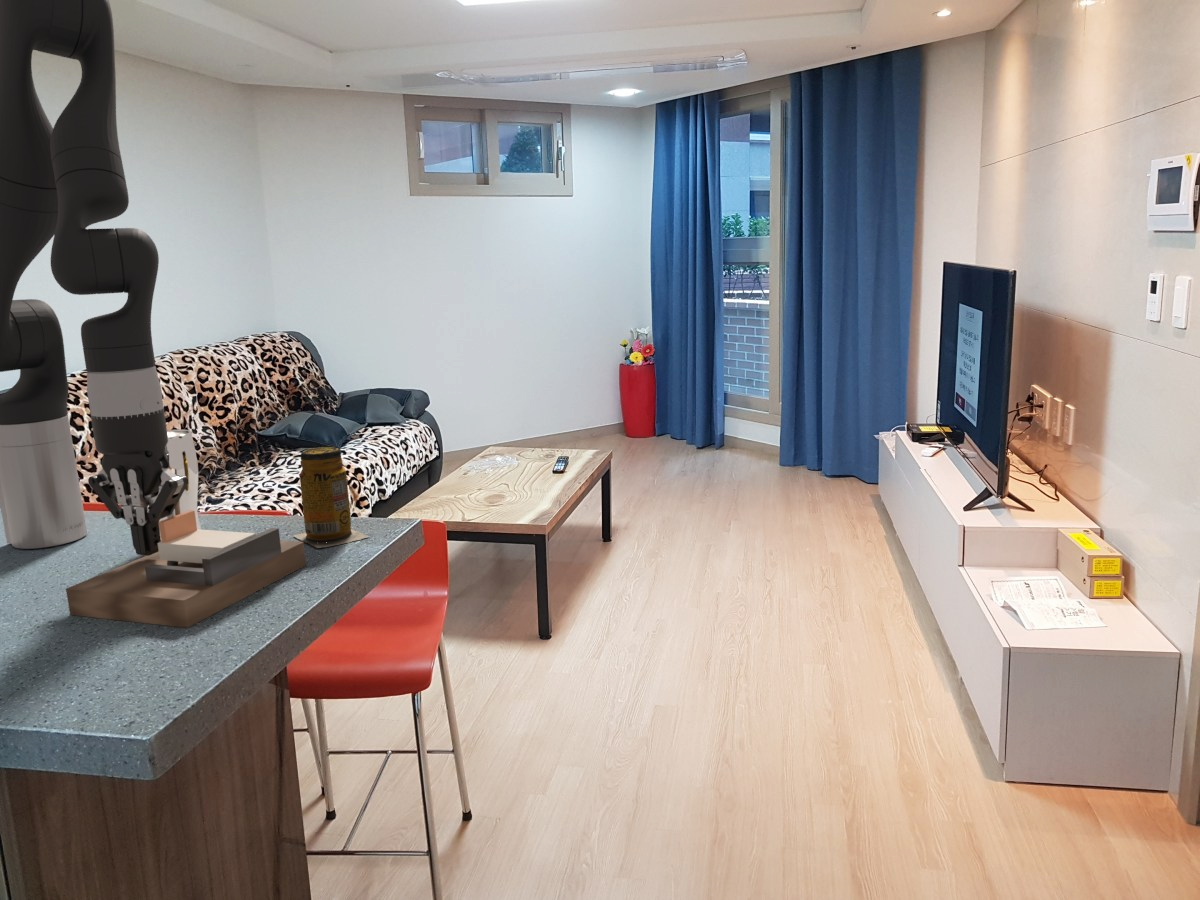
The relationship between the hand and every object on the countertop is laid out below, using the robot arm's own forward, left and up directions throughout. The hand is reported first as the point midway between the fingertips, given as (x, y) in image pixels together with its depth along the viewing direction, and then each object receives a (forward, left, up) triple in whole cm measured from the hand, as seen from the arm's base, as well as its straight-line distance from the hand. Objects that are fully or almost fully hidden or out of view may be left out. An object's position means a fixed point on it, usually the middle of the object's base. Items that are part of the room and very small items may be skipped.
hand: (148, 553), depth 110 cm
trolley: (+9, 0, -1) cm, 9 cm away
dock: (+7, 0, -4) cm, 7 cm away
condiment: (+11, +21, -4) cm, 24 cm away
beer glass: (-9, +15, -4) cm, 18 cm away
